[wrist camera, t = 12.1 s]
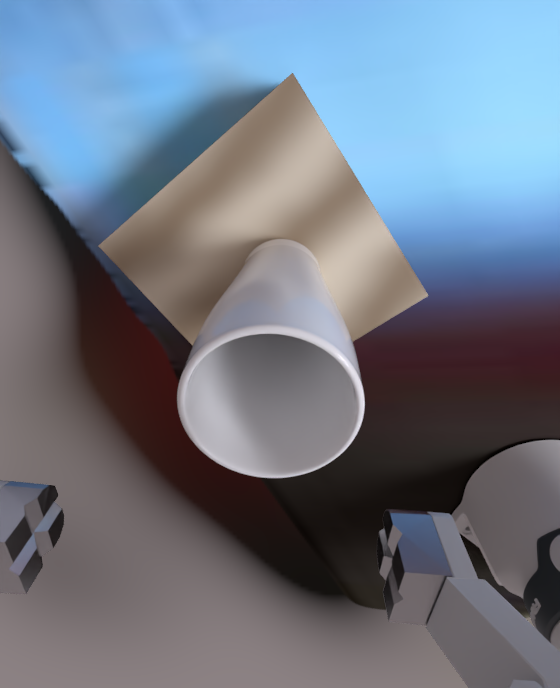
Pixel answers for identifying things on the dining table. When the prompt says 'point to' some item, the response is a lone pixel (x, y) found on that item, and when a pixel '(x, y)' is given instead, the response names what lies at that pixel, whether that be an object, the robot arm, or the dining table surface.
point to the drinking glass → (273, 370)
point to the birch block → (265, 221)
